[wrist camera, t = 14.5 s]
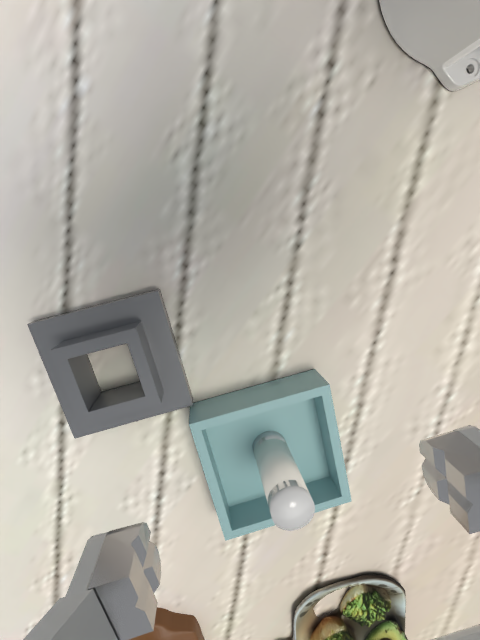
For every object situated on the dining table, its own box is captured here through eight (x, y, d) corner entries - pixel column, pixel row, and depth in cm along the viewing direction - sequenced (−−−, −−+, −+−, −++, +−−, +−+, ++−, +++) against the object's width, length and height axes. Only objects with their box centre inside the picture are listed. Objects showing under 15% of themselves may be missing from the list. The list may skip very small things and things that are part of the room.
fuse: (282, 426, 39) (310, 486, 29) (288, 455, 40) (318, 522, 30) (249, 436, 39) (267, 500, 29) (256, 465, 40) (276, 536, 30)
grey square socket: (159, 289, 35) (154, 295, 30) (193, 398, 38) (192, 418, 34) (34, 321, 34) (10, 332, 30) (79, 430, 37) (63, 455, 33)
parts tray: (314, 368, 39) (329, 384, 35) (335, 475, 43) (351, 501, 38) (190, 404, 38) (189, 424, 34) (222, 509, 42) (225, 540, 37)
